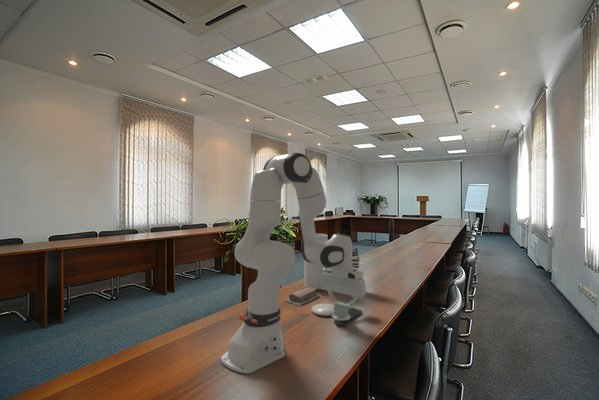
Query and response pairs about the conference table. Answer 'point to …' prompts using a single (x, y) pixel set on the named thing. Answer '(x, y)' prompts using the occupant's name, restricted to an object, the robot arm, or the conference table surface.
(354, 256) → the decorative candle
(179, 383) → the conference table surface
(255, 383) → the conference table surface
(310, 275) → the vase
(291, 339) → the conference table surface
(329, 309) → the dish
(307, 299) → the packaged product
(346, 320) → the balance
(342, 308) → the block
